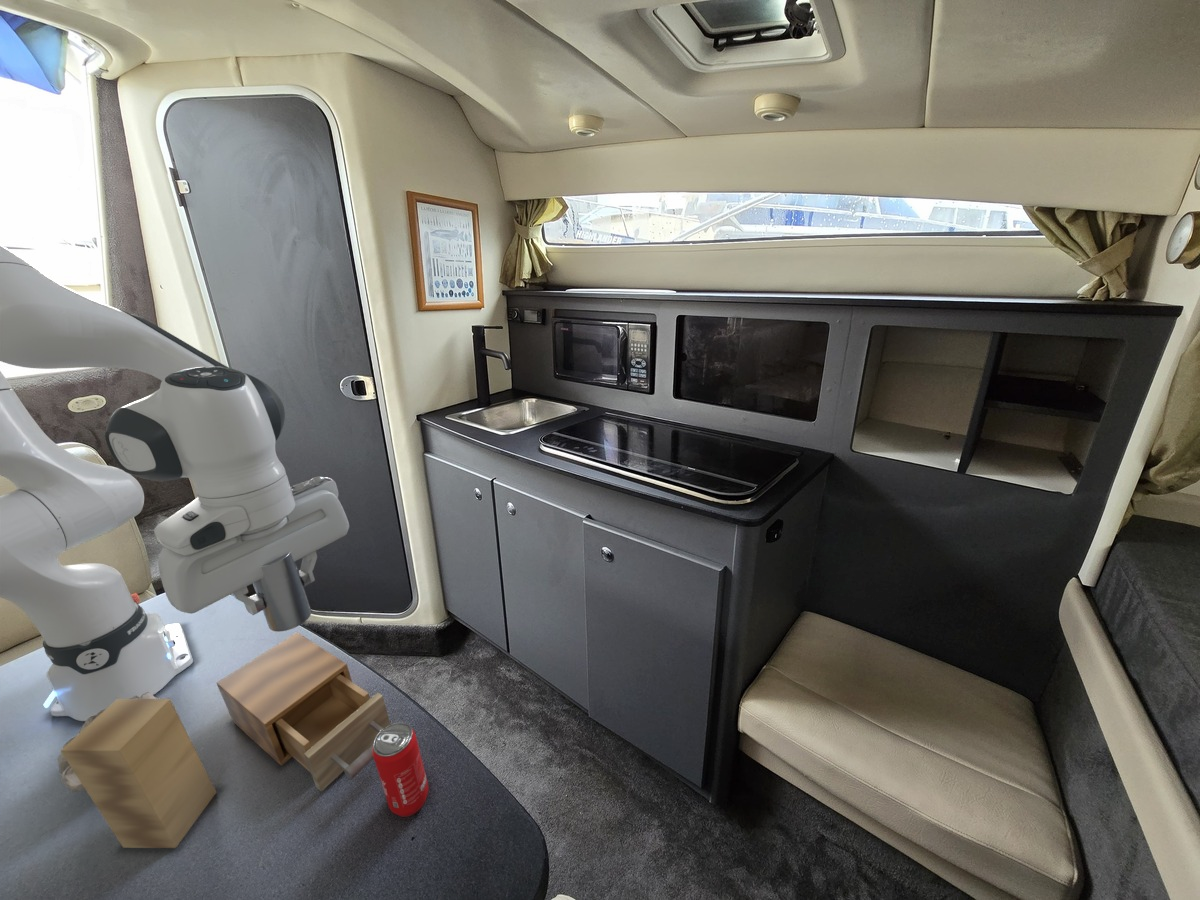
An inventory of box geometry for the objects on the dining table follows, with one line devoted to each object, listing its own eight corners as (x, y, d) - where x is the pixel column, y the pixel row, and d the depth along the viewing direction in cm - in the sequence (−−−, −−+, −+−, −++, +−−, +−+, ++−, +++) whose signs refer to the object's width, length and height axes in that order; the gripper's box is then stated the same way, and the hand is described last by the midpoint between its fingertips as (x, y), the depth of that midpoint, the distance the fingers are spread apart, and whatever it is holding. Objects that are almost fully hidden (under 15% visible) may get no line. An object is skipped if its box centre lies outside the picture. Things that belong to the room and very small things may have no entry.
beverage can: (417, 823, 65) (399, 761, 60) (381, 816, 66) (362, 754, 61) (436, 784, 69) (422, 723, 65) (403, 778, 70) (386, 717, 66)
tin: (267, 615, 66) (244, 553, 63) (309, 601, 69) (289, 540, 65) (269, 637, 63) (245, 572, 59) (313, 620, 65) (293, 557, 61)
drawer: (412, 742, 74) (404, 709, 72) (342, 811, 65) (330, 776, 63) (340, 691, 84) (330, 661, 81) (270, 746, 75) (256, 713, 72)
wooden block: (123, 847, 63) (60, 750, 56) (168, 792, 70) (117, 698, 63) (175, 848, 63) (119, 750, 56) (216, 792, 69) (170, 698, 63)
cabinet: (358, 702, 82) (346, 663, 79) (281, 766, 73) (264, 724, 69) (309, 668, 90) (297, 631, 86) (233, 722, 80) (215, 682, 77)
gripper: (318, 466, 69) (342, 550, 74) (134, 536, 53) (180, 636, 58) (345, 475, 66) (367, 562, 71) (158, 551, 50) (205, 656, 55)
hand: (282, 596), depth 64 cm, fingers closed on tin, 5 cm apart
